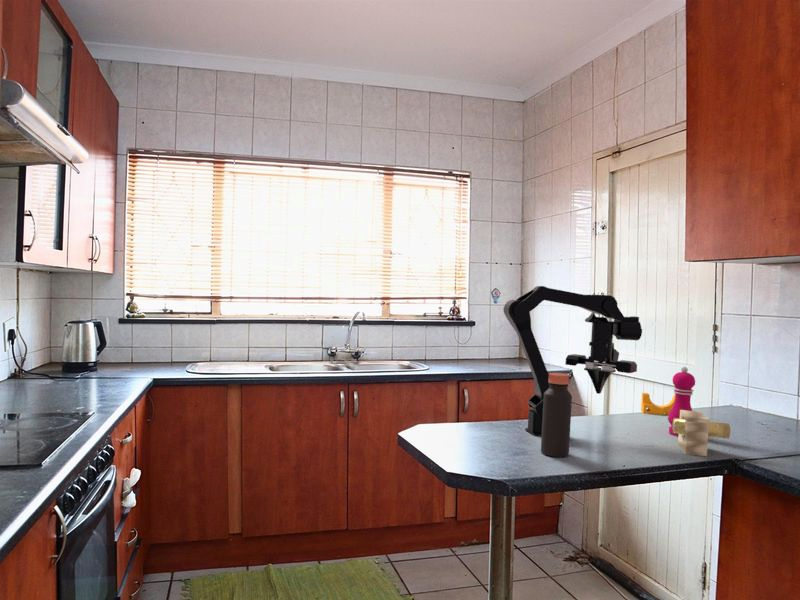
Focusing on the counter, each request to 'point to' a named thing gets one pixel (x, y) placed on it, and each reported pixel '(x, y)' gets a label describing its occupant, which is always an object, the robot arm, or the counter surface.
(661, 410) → the pipe clamp
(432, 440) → the counter surface
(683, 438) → the beige lumpy block
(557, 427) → the bottle
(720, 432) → the tan wooden bar
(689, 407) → the pepper mill
